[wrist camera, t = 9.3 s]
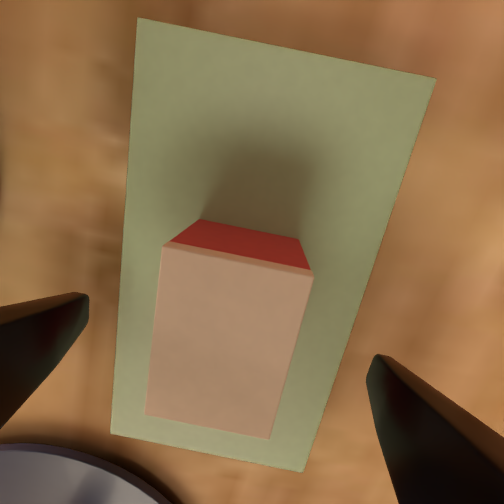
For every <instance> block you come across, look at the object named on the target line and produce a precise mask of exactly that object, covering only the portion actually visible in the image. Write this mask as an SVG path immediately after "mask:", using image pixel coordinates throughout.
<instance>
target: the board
mask: <svg viewBox="0 0 504 504" xmlns="http://www.w3.org/2000/svg"><path fill="white" fill-rule="evenodd" d="M435 83H436V78H433V77H428V76H423V75H418V74H413V73H408V72H403V71H398V70H394V69H389V68H384V67H379V66H374V65H369V64H364V63H359V62H355V61H350V60H345V59H340V58H335V57H330V56H325V55H320V54H315V53H311V52H306V51H301V50H296V49H291V48H286V47H281V46H276V45H271V44H267V43H262V42H257V41H252V40H247V39H242V38H237V37H232V36H227V35H223V34H218V33H213V32H208V31H203V30H198V29H193V28H188V27H184V26H179V25H174V24H169V23H164V22H159V21H154V20H149V19H144V18H140V17H138V18H137V31H136V46H135V61H134V77H133V92H132V107H131V122H130V138H129V153H128V168H127V183H126V199H125V214H124V229H123V244H122V260H121V275H120V290H119V305H118V321H117V336H116V351H115V366H114V382H113V397H112V412H111V427H110V434H114V435H119V436H124V437H129V438H134V439H139V440H144V441H149V442H154V443H158V444H163V445H168V446H173V447H178V448H183V449H188V450H193V451H198V452H202V453H207V454H212V455H217V456H222V457H227V458H232V459H237V460H242V461H246V462H251V463H256V464H261V465H266V466H271V467H276V468H281V469H286V470H290V471H295V472H300V473H303V472H304V469H305V466H306V463H307V460H308V457H309V454H310V451H311V448H312V445H313V442H314V439H315V436H316V433H317V430H318V427H319V424H320V421H321V419H322V416H323V413H324V410H325V407H326V404H327V401H328V398H329V395H330V392H331V389H332V386H333V383H334V380H335V377H336V374H337V371H338V368H339V365H340V363H341V360H342V357H343V354H344V351H345V348H346V345H347V342H348V339H349V336H350V333H351V330H352V327H353V324H354V321H355V318H356V315H357V312H358V310H359V307H360V304H361V301H362V298H363V295H364V292H365V289H366V286H367V283H368V280H369V277H370V274H371V271H372V268H373V265H374V262H375V259H376V256H377V254H378V251H379V248H380V245H381V242H382V239H383V236H384V233H385V230H386V227H387V224H388V221H389V218H390V215H391V212H392V209H393V206H394V203H395V201H396V198H397V195H398V192H399V189H400V186H401V183H402V180H403V177H404V174H405V171H406V168H407V165H408V162H409V159H410V156H411V153H412V150H413V147H414V145H415V142H416V139H417V136H418V133H419V130H420V127H421V124H422V121H423V118H424V115H425V112H426V109H427V106H428V103H429V100H430V97H431V94H432V92H433V89H434V86H435ZM198 219H202V220H207V221H212V222H217V223H222V224H227V225H232V226H237V227H242V228H247V229H251V230H256V231H261V232H266V233H271V234H276V235H281V236H286V237H291V238H296V239H298V240H299V241H300V244H301V246H302V249H303V251H304V254H305V256H306V259H307V261H308V264H309V266H310V269H311V271H312V272H313V275H314V281H313V285H312V288H311V292H310V295H309V299H308V303H307V306H306V310H305V313H304V317H303V321H302V324H301V328H300V331H299V335H298V339H297V342H296V346H295V349H294V353H293V356H292V360H291V364H290V367H289V371H288V374H287V378H286V382H285V385H284V389H283V392H282V396H281V400H280V403H279V407H278V410H277V414H276V417H275V421H274V425H273V428H272V432H271V435H270V439H269V440H266V439H261V438H256V437H251V436H246V435H242V434H237V433H232V432H227V431H222V430H217V429H212V428H207V427H202V426H197V425H193V424H188V423H183V422H178V421H173V420H168V419H163V418H158V417H153V416H149V415H145V414H144V410H145V400H146V391H147V382H148V372H149V363H150V354H151V344H152V335H153V326H154V316H155V307H156V298H157V288H158V279H159V270H160V260H161V251H162V246H163V245H164V244H165V243H167V242H168V241H170V240H171V239H173V238H174V237H176V236H177V235H178V234H180V233H181V232H182V231H184V230H185V229H186V228H188V227H189V226H190V225H192V224H193V223H194V222H196V221H197V220H198Z"/></svg>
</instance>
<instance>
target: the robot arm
mask: <svg viewBox="0 0 504 504" xmlns="http://www.w3.org/2000/svg"><path fill="white" fill-rule="evenodd" d="M88 319H89V296H88V295H86V294H83V293H78V292H71V293H66V294H61V295H57V296H52V297H47V298H42V299H37V300H32V301H27V302H22V303H17V304H12V305H8V306H3V307H0V429H1V428H2V427H3V426H4V424H5V423H6V422H7V421H8V420H9V419H10V418H11V417H12V416H13V414H14V413H15V412H16V411H17V410H18V409H19V408H20V407H21V406H22V404H23V403H24V402H25V401H26V400H27V399H28V398H29V397H30V395H31V394H32V393H33V392H34V391H35V390H36V389H37V388H38V387H39V385H40V384H41V383H42V382H43V381H44V380H45V379H46V378H47V377H48V375H49V374H50V373H51V372H52V371H53V370H54V368H55V367H56V366H57V365H58V363H59V362H60V361H61V360H62V358H63V357H64V355H65V354H66V353H67V351H68V350H69V349H70V347H71V346H72V345H73V343H74V342H75V340H76V339H77V338H78V336H79V335H80V334H81V332H82V331H83V330H84V328H85V327H86V325H87V323H88ZM366 385H367V390H368V395H369V399H370V404H371V409H372V414H373V419H374V424H375V428H376V432H377V436H378V439H379V442H380V446H381V449H382V452H383V455H384V458H385V461H386V465H387V468H388V471H389V474H390V477H391V480H392V484H393V487H394V490H395V493H396V496H397V500H398V503H399V504H504V437H502V436H501V435H499V434H498V433H497V432H495V431H494V430H492V429H491V428H490V427H488V426H487V425H485V424H484V423H483V422H481V421H480V420H478V419H477V418H476V417H474V416H473V415H471V414H470V413H469V412H467V411H466V410H464V409H463V408H462V407H460V406H459V405H457V404H456V403H455V402H453V401H452V400H450V399H449V398H447V397H446V396H445V395H443V394H442V393H440V392H439V391H438V390H436V389H435V388H433V387H432V386H431V385H429V384H428V383H426V382H425V381H424V380H422V379H421V378H419V377H418V376H417V375H415V374H414V373H412V372H411V371H410V370H408V369H407V368H405V367H404V366H403V365H401V364H400V363H398V362H397V361H396V360H394V359H393V358H391V357H389V356H385V355H381V354H377V355H375V356H374V358H373V360H372V363H371V365H370V368H369V371H368V373H367V377H366Z"/></svg>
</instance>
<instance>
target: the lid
mask: <svg viewBox="0 0 504 504" xmlns="http://www.w3.org/2000/svg"><path fill="white" fill-rule="evenodd" d="M0 504H171V503H170V502H169V501H168V500H167V499H166V498H165V497H164V496H163V495H161V494H160V493H159V492H158V491H157V490H156V489H154V488H153V487H152V486H150V485H149V484H147V483H146V482H145V481H143V480H142V479H140V478H139V477H137V476H135V475H134V474H132V473H130V472H128V471H127V470H125V469H123V468H121V467H119V466H117V465H115V464H112V463H110V462H108V461H106V460H104V459H101V458H98V457H95V456H92V455H90V454H87V453H84V452H80V451H76V450H72V449H68V448H64V447H58V446H52V445H45V444H32V443H12V444H0Z"/></svg>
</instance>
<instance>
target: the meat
mask: <svg viewBox="0 0 504 504" xmlns="http://www.w3.org/2000/svg"><path fill="white" fill-rule="evenodd" d="M313 281H314V275H313V272H312V271H311V269H310V266H309V264H308V261H307V259H306V256H305V254H304V251H303V249H302V246H301V244H300V241H299V240H298V239H296V238H291V237H286V236H281V235H276V234H271V233H266V232H261V231H256V230H251V229H247V228H242V227H237V226H232V225H227V224H222V223H217V222H212V221H207V220H202V219H198V220H197V221H196V222H194V223H193V224H192V225H190V226H189V227H188V228H186V229H185V230H184V231H182V232H181V233H180V234H178V235H177V236H176V237H174V238H173V239H171V240H170V241H168V242H167V243H165V244H164V245H163V246H162V251H161V260H160V270H159V279H158V288H157V298H156V307H155V316H154V326H153V335H152V344H151V354H150V363H149V372H148V382H147V391H146V400H145V410H144V414H145V415H149V416H153V417H158V418H163V419H168V420H173V421H178V422H183V423H188V424H193V425H197V426H202V427H207V428H212V429H217V430H222V431H227V432H232V433H237V434H242V435H246V436H251V437H256V438H261V439H266V440H269V439H270V435H271V432H272V428H273V425H274V421H275V417H276V414H277V410H278V407H279V403H280V400H281V396H282V392H283V389H284V385H285V382H286V378H287V374H288V371H289V367H290V364H291V360H292V356H293V353H294V349H295V346H296V342H297V339H298V335H299V331H300V328H301V324H302V321H303V317H304V313H305V310H306V306H307V303H308V299H309V295H310V292H311V288H312V285H313Z"/></svg>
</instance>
